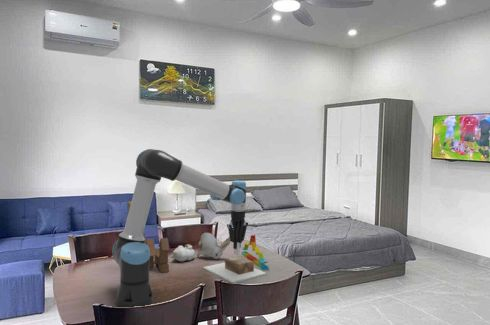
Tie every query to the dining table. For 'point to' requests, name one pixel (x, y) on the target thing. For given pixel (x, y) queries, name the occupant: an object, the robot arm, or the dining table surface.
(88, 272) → the dining table surface
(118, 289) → the robot arm
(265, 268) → the multicoloured triangular frame
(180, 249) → the cat figurine
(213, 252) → the toy
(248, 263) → the slab
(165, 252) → the building blocks
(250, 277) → the mat
